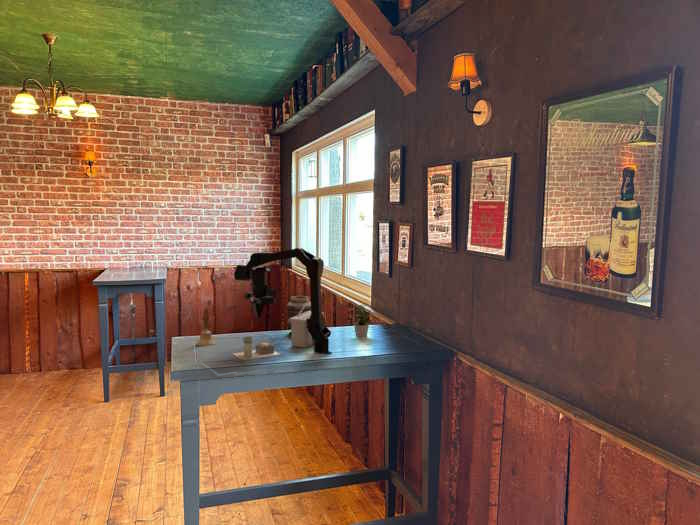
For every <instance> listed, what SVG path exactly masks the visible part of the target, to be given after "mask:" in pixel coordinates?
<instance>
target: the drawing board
mask: <svg viewBox="0 0 700 525" xmlns="http://www.w3.org/2000/svg"><path fill="white" fill-rule="evenodd" d="M232 355H234V356H236V357H238V358H239V359H241V360H243V361H245V360H252V359H260V358H264V357H272V356H279V355H280V353H279V352H278V351H275V350H274V353H269V354H263V355H261V354H259V353H257V352H256V349H254V350H253V349H252V356H251V357H244V351H241V352H240V351H239V352H234V353H232Z"/></svg>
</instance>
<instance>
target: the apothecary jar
mask: <svg viewBox="0 0 700 525" xmlns="http://www.w3.org/2000/svg"><path fill="white" fill-rule="evenodd" d="M308 300H309V301H308ZM307 301H308V302H307ZM306 302H307V304H306ZM305 304H306V305H305ZM304 305H305V307H304ZM286 306H287V308H288V309H289V318H288V319H287V321H286V322H287V325H288V326H289V327H290V328H291V327H292V323H291V322H290V318H292V317H295V316H297V315H298V314H299V313H300V311H301V310H302V308H303V307H304V309H303V310H302V312H301V313H300V314H302V313H305V312H307V311H311V300H310V299H309V296H306V295H294V296H290V301H289V302H288V303H287V305H286ZM290 334H291V331H289V335H290Z"/></svg>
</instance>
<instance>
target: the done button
mask: <svg viewBox="0 0 700 525" xmlns="http://www.w3.org/2000/svg"><path fill="white" fill-rule="evenodd" d="M259 344H260V346H261V347H265V346H269V342H262V343H259Z"/></svg>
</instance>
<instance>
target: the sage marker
mask: <svg viewBox="0 0 700 525" xmlns="http://www.w3.org/2000/svg"><path fill="white" fill-rule="evenodd" d="M242 342H243V352H244V357H251V356H252V351H253V337H252V336H248V335H247V336H244V337H243V338H242Z"/></svg>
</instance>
